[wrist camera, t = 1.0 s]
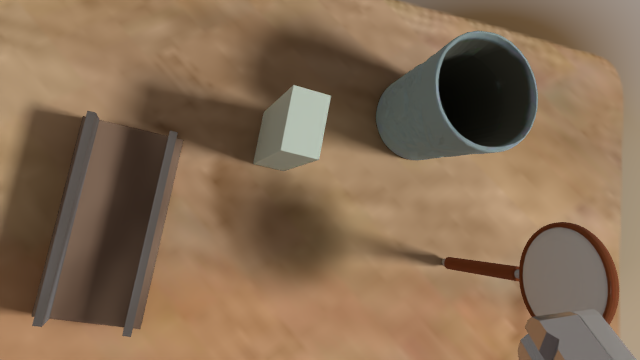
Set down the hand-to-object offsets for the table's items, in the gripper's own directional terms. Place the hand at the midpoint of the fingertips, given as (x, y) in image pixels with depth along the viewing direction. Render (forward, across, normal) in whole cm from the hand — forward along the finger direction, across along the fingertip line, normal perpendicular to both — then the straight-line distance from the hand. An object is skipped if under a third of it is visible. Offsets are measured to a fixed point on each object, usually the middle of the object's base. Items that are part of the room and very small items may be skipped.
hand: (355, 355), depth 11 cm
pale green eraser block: (+34, 0, +13) cm, 36 cm away
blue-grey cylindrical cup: (+37, -15, +14) cm, 42 cm away
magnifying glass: (+28, -16, +26) cm, 42 cm away
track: (+27, +14, +16) cm, 35 cm away
